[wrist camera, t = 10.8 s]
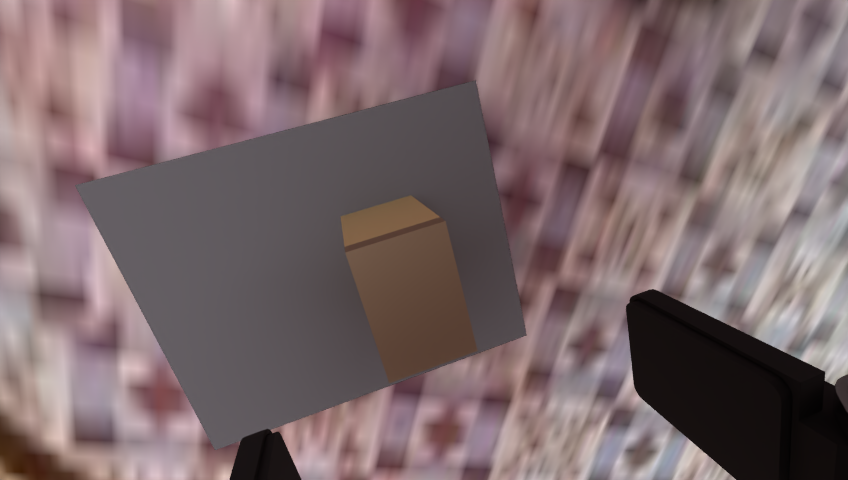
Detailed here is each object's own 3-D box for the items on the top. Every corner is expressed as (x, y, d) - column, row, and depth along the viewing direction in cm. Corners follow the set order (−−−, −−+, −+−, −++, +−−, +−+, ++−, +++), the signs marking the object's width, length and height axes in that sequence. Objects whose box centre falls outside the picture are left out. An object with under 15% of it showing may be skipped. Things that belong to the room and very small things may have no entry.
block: (410, 195, 22) (445, 220, 15) (436, 291, 24) (477, 350, 17) (340, 216, 22) (345, 252, 15) (372, 312, 23) (389, 383, 17)
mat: (472, 81, 22) (475, 80, 21) (522, 331, 27) (526, 335, 26) (82, 183, 19) (75, 185, 18) (217, 442, 24) (214, 450, 23)
